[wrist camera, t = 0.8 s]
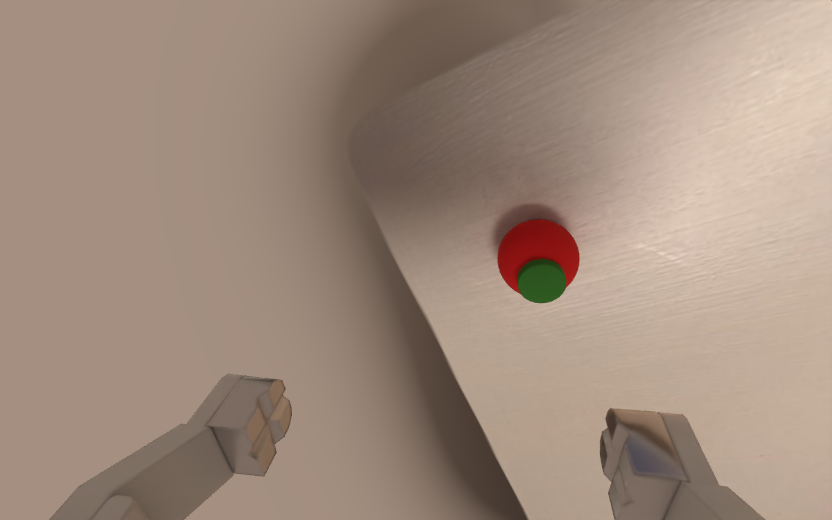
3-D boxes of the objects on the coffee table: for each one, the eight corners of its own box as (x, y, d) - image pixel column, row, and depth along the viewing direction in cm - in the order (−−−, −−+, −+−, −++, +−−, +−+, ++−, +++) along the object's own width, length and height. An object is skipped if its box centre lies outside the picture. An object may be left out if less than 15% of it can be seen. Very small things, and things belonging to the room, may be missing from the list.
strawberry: (487, 220, 25) (486, 261, 20) (561, 196, 23) (575, 235, 19) (510, 278, 26) (513, 326, 22) (580, 259, 25) (596, 307, 21)
